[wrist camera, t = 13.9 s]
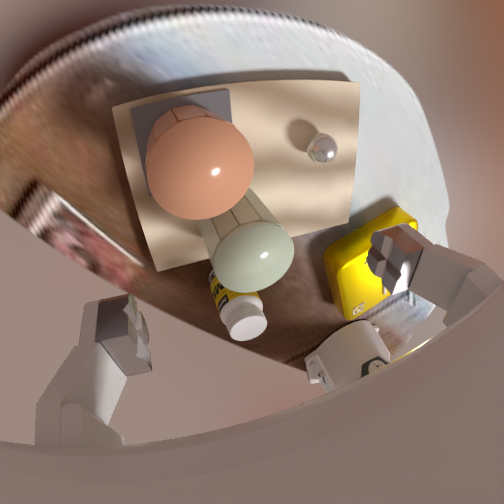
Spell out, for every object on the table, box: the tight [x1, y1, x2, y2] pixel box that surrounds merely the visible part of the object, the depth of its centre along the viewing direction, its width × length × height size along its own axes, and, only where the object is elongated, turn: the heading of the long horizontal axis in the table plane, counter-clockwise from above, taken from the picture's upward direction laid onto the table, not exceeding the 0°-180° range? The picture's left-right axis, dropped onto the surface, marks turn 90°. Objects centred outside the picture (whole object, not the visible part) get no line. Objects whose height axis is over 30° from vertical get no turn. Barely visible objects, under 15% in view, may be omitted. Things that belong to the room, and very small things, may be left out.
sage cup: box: [198, 188, 294, 293], centre depth 24 cm, size 6×6×8 cm
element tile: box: [323, 207, 418, 320], centre depth 40 cm, size 15×15×5 cm
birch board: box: [112, 79, 360, 272], centre depth 26 cm, size 17×23×2 cm
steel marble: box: [306, 133, 338, 164], centre depth 24 cm, size 3×3×3 cm
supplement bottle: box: [209, 270, 267, 341], centre depth 30 cm, size 5×5×8 cm
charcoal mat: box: [130, 90, 232, 197], centre depth 21 cm, size 8×8×1 cm
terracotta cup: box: [145, 105, 254, 220], centre depth 18 cm, size 6×6×8 cm
